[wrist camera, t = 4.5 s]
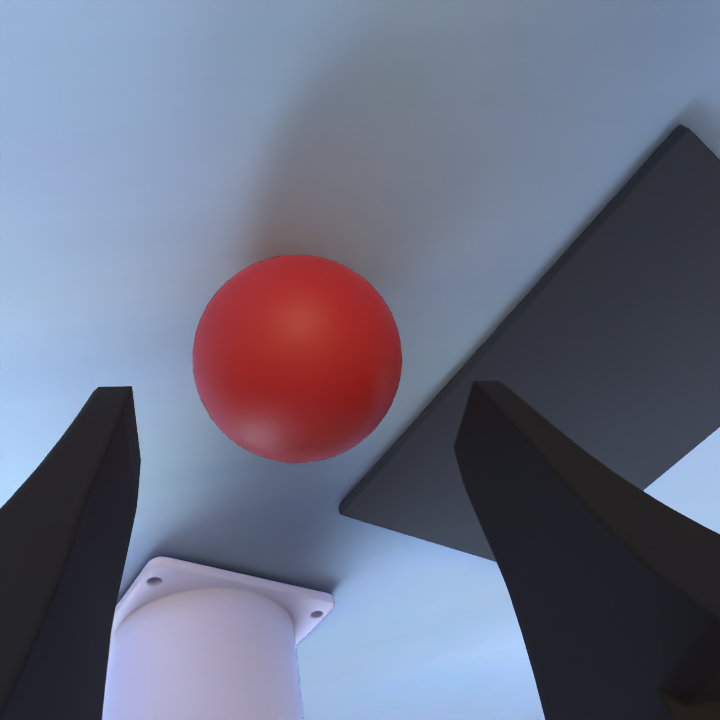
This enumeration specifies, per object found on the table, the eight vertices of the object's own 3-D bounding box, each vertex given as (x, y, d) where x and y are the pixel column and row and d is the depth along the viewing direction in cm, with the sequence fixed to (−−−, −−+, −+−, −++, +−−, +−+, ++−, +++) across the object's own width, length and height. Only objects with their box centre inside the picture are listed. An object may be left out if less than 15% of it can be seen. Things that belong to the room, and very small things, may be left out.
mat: (537, 568, 27) (540, 575, 27) (338, 506, 22) (339, 515, 22) (856, 300, 21) (865, 306, 20) (679, 123, 15) (689, 127, 15)
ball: (316, 398, 19) (342, 528, 15) (163, 336, 16) (146, 472, 12) (413, 274, 17) (472, 387, 13) (253, 183, 14) (267, 287, 10)
